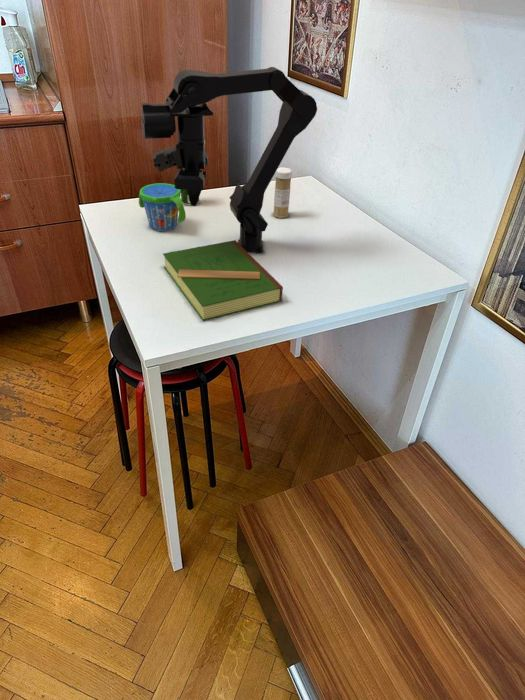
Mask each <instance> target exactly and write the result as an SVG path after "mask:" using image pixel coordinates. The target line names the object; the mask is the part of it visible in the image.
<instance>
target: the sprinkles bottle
mask: <svg viewBox="0 0 525 700" xmlns="http://www.w3.org/2000/svg"><path fill="white" fill-rule="evenodd" d="M274 176H275V185H274V186H275V187H274V199H273V213H272V215H273V216H274V217H275V218H278V219H285V218H288V217H289V207H290V197H291V182H292V181H291V180H292V178H293V177H292V176H293V170H292V169H291V168H289V167H284V166H283V167H278V169H277V170H276V172H275V174H274Z"/></svg>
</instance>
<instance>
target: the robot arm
mask: <svg viewBox="0 0 525 700" xmlns="http://www.w3.org/2000/svg"><path fill="white" fill-rule="evenodd" d="M269 91H272V92H273V94H275V96H276V97H277V98H278V99H279V100H280V101H281V102H282V104H281V107H280V110H279V112H278V113H279V114H278V120H277V126H276V128H275V130H274V132H273V134H272V136H271V137H270V139H269V142H268V143H267V145H266V147H265V148H264V151H263V153H262V154H261V156H260V158H259V160H258V162H257V164H256V166H255V168H254V170H253V171H252V173H251V175H250V177H249V178H248V181H246V183H244V184H243V185H242V186H241V184H239V183H237V184H236V185H235V186H234V187H235V188H234V191H233V193H232V194H231V195H230V196H229V197H228V198H229V199H230V202H229V208H230V211H231V212H232V214H233V216H234V217H235V219H236V220H237V222H238V223H239V239H238V240H237V242H238V243H239V244H240V245H241V246H242V247H243V248H244V249H245V250H246V251H247V252H248V253H249V254H258V253H259V254H262V253H264V241H263V232H265V231H266V230H267V228H268V225H269V224H268V222H267V221H266V219H265V218H264V217H263V215H262V214H261V211H262V209H263V204H264V197H265V193H266V190H267V189H268V187H269V185H270V183H271V181H272V179H273V178H274V176H275V174H276V170H277V169H278V168H280V165H281V163H282V162H283V159H284V158H285V156H286V154H287V152H288V151H289V148H290V147H291V145H292V143H293V141H294V140H295V138H296V137H297V136H298V135H300V134H301V133H302V132H303V131H305V130H306V129H307V128H308V126H309V125H310V123H311V122H312V121H313V119H315V117H316V114H317V112H318V106H317V102H316V100H315V98H314V97H313V96H311V94H309V93H307V92H305V91H304V90H302V89H299V88H298V87H297V86H296V85H295V84H294V83H293V82H292V81H291V80H290V79H289V78H288V77H287V76H286V75H285V73H284V72H283V71H282V70H280V69H279V68H277V67H275V66H269V67H267V68H259V69H251V70H239V71H230V72H220V73H213V72H209V71H202V70H196V69H195V70H193V69H183V70H180V71H178V73H177V74H176V75H175V76H174V80H173V88H172V89H171V91H170V93H169V94H168V96H167V97H166V98H165V101H164V103H151V102H142V103H141V117H140V123H141V125H140V126H141V131H142V137H143V139H144V140H150V139H151V140H152V139H171V138H172V136H174V135H175V133H177V143H176V144H175V145H174V146H170V147H167V148H164V149H161V150H158V151H156V152H154V154H153V155H152V161H153V167H154V168H156V170H157V172H158V173H161V172H164V171H165V170H167V169H171V168H173V167H176V169H177V170H179V171H178V172H176V174H175V176H174V179H173V181H174V183H173V185H175V188H176V189H180V190H181V189H185V190H187V193H188V196H189V200H190V203H191V206H190V207H196V206H197V205H198V204H197V201H198V199H199V200H200V196H201V193H202V191H203V190H205V189H204V188H205V183H206V177H207V171H204V170H205V167H208V166H209V153H207V152H206V151H205V150H206V149H205V145H206V138H205V117H213V115H214V111H212V109H211V108H210V107H209V106H208V104H207V103H209V102H211V101H213V100H215V99H217V98H220V97H224V96H232V95H241V94H251V93H260V92H269ZM176 125H177V126H176ZM176 127H177V128H176ZM176 129H177V132H176ZM183 168H184V170H180V169H183ZM196 204H197V205H196Z"/></svg>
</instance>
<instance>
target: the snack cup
mask: <svg viewBox="0 0 525 700" xmlns="http://www.w3.org/2000/svg"><path fill="white" fill-rule="evenodd" d="M138 206H139V207H140V208H141V209H143V208H144V211H145V215H146V218H147V222H148V225H149V228H151V229H153V230H156V231H159V232H163V231H170V230H174V229H175V227H177V225H178V223H179V224H181V223H183V222H184V221H185V220H186V217H187V216H186V210H185V205H184V204H183V203H182V200H181V189H176V188H175V184H172V183H164V182H162V183H161V182H158V183H150V184H147V185H144V186H143V187H141V188H140V189H139V193H138Z"/></svg>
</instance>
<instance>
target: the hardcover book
mask: <svg viewBox="0 0 525 700" xmlns="http://www.w3.org/2000/svg"><path fill="white" fill-rule="evenodd" d="M162 255H163V256H164V267H163V269H164V270H165V271H166V273H167V274H168V275H169V277H170V279H171V280H172V281H173V282H174V284H175V285H176V286H177V287H178V289H179V290H180V292H181V293H182V295H183V296H184V297H185V299H186V300H187V301H188V303H189V304H190V306H191V307H192V309H194V311H195V312H196V314H197V315H198V317H199V318H200V320H201V321H202V322H205V321H208V320H213V319H217V318H221V317H225V316H229V315H233V314H238V313H242V312H245V311H246V312H247V311H249V310H253V309H257V308H261V307H266V306H269V305H273V304H278V303H282V302H283V291H284V287H283V285H282V284H281V283H280V282H278V280H276V279H275V277H274V276H272V274H271V273H269V272H268V270H266V269H265V267H264V266H262V265H261V264H260V263H259V262H258V261H257V260H256V259H255V258H254V257H253V256H252V255H251V253H248V252H247V251H246V250H245V249H244V248H243V247H242V246H241V245H240V244H239V243H238V241H237V240H236V239H234V240H229V241H224V242H218V243H213V244H206V245H201V246H197V247H191V248H185V249H180V250H175V251H169V252H164V253H162ZM179 269H182V270H214V271H246V272H260V280H239V279H206V278H178V272H179Z"/></svg>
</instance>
